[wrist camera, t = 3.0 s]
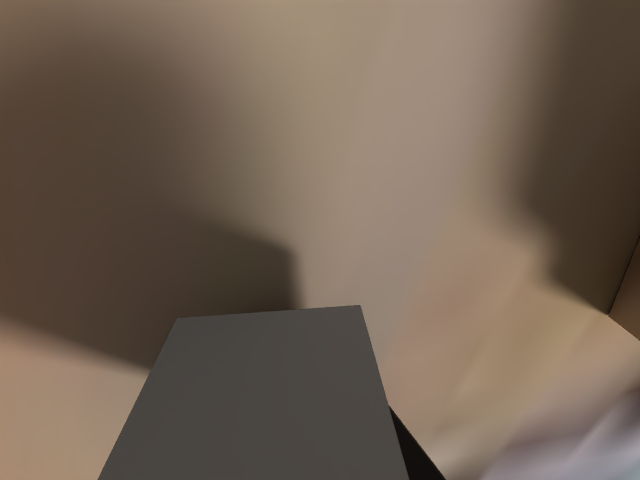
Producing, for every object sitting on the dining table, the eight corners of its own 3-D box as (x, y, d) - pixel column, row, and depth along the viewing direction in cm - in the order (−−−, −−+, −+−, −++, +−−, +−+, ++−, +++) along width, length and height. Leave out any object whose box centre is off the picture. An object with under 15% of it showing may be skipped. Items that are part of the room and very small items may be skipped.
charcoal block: (358, 426, 11) (403, 677, 6) (209, 438, 11) (145, 707, 6) (360, 304, 9) (428, 546, 4) (176, 317, 9) (45, 585, 4)
